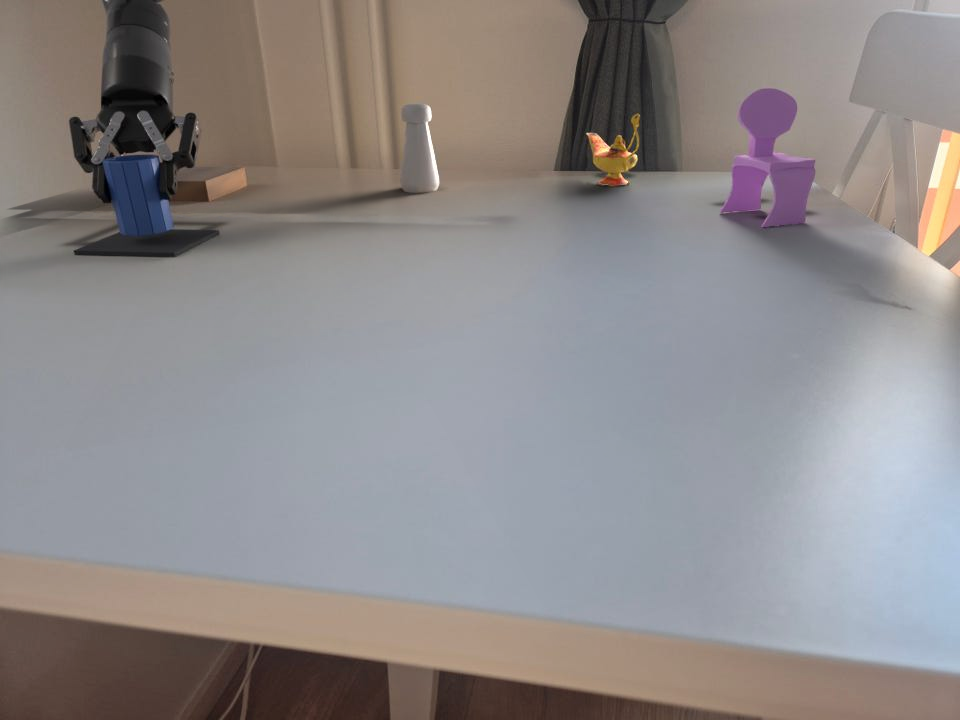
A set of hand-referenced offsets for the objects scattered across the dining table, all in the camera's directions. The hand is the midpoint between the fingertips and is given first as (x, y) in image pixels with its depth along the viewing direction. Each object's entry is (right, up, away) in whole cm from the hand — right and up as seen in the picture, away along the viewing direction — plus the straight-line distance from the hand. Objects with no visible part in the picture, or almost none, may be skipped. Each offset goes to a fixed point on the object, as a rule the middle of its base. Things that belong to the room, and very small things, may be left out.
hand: (135, 197), depth 75 cm
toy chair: (+73, -1, +10) cm, 74 cm away
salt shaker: (+29, +6, +26) cm, 39 cm away
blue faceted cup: (0, -3, +3) cm, 4 cm away
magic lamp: (+59, +11, +35) cm, 69 cm away
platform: (-5, +6, +27) cm, 28 cm away
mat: (0, -5, +4) cm, 6 cm away
